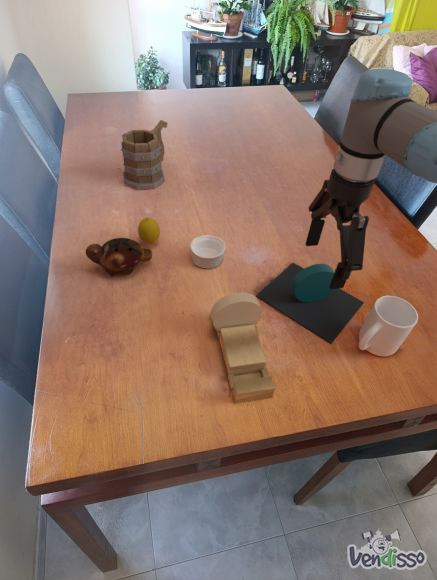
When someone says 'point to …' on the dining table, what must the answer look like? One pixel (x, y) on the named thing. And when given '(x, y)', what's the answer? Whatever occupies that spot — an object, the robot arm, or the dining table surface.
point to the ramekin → (207, 251)
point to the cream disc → (236, 311)
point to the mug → (387, 325)
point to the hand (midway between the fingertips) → (323, 265)
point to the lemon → (148, 230)
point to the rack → (245, 364)
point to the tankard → (143, 157)
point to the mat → (311, 306)
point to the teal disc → (313, 283)
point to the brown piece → (118, 255)
